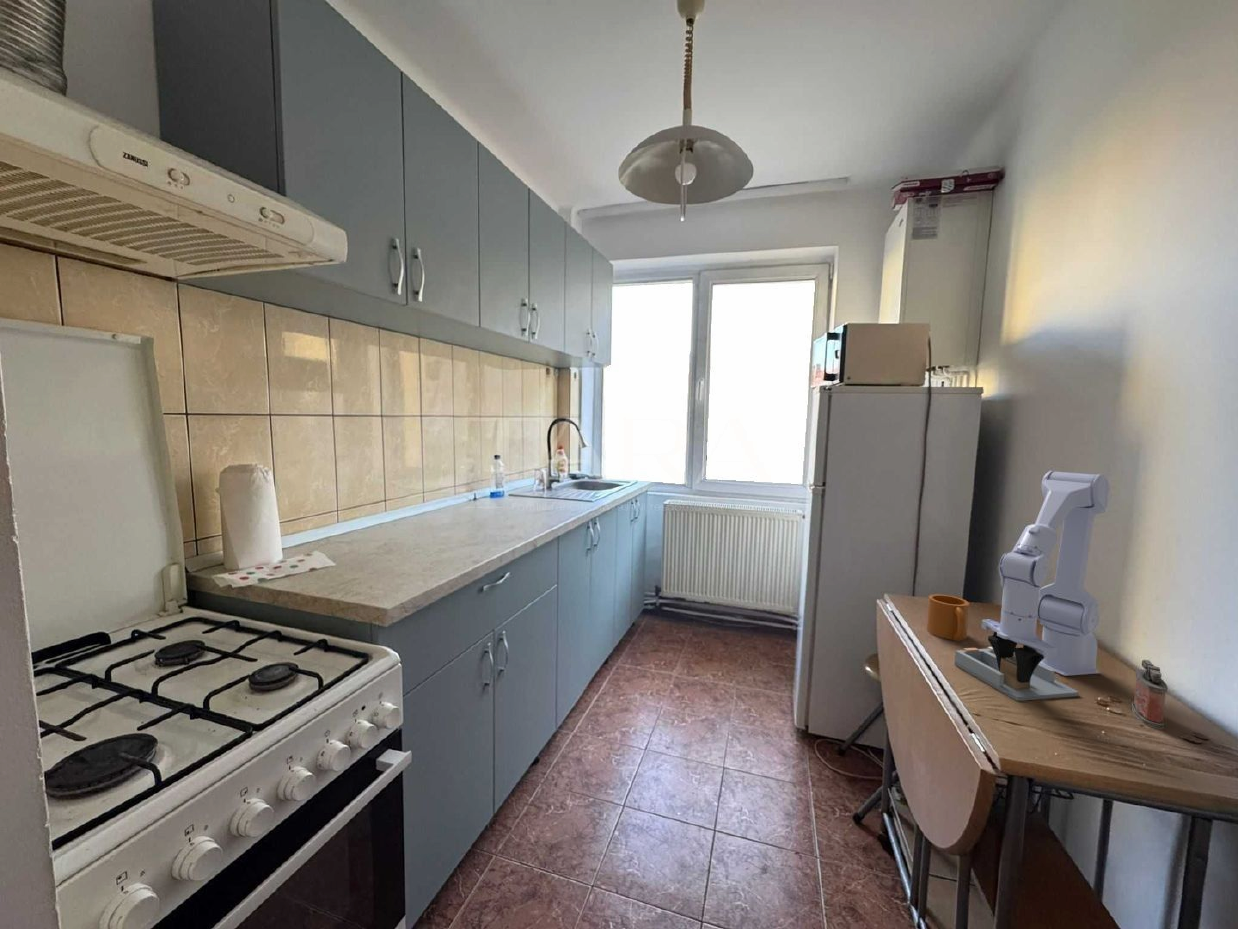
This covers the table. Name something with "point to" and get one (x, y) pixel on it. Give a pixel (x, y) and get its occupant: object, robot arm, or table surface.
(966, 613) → the mug
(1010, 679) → the plug
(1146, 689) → the lighter
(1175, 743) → the table surface
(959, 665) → the socket board
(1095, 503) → the robot arm
